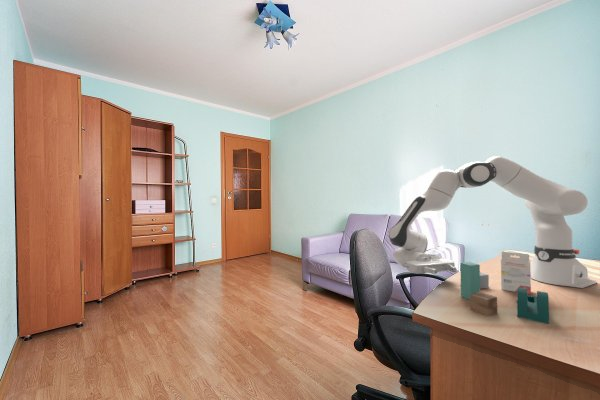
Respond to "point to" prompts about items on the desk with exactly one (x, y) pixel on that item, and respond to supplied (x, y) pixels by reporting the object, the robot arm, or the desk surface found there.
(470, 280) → the teal block
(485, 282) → the slate grey block
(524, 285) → the ink cartridge box
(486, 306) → the walnut block
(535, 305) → the bracket
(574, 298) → the desk surface
